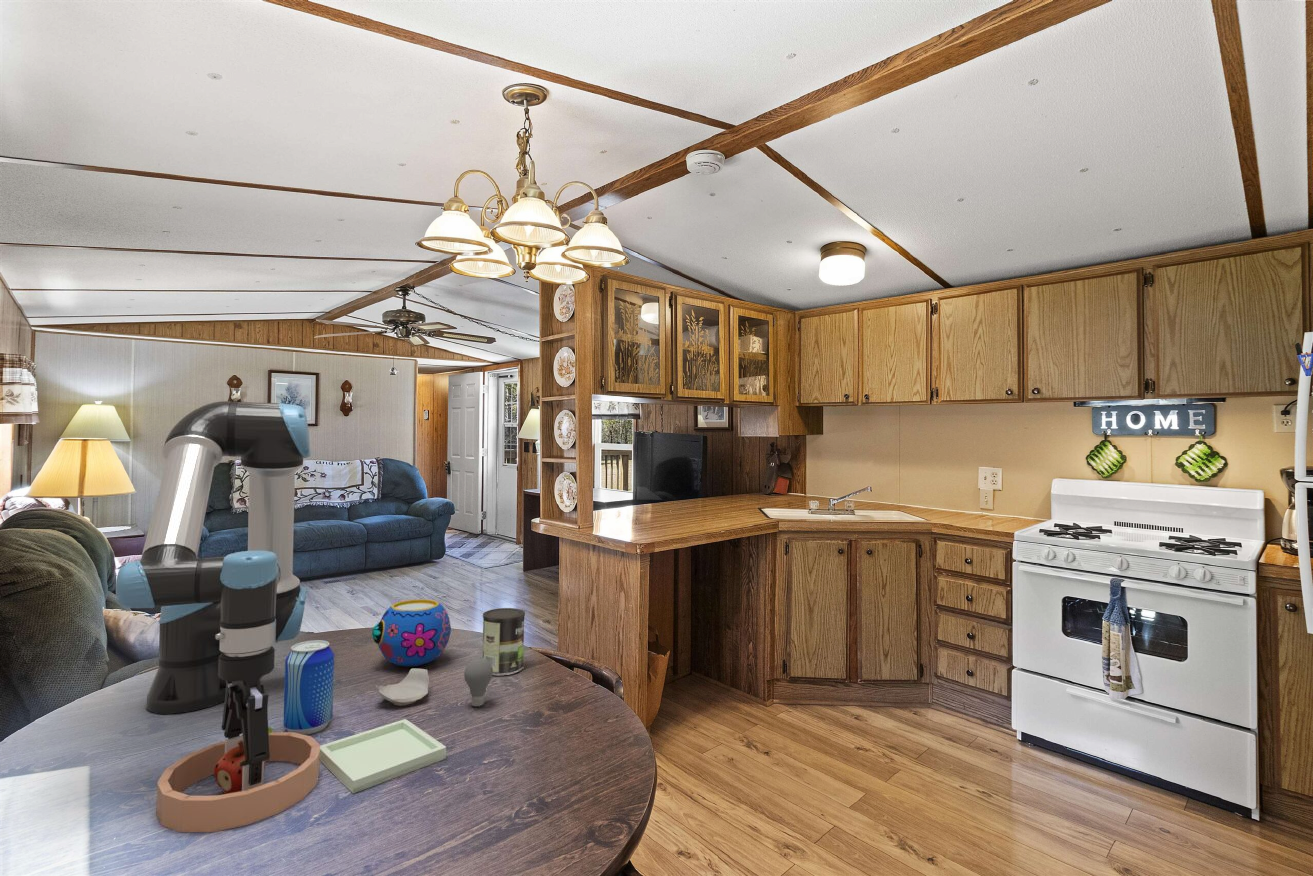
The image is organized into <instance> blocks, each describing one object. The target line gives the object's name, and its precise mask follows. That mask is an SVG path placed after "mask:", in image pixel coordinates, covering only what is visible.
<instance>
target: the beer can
mask: <svg viewBox="0 0 1313 876" xmlns="http://www.w3.org/2000/svg"><path fill="white" fill-rule="evenodd" d="M284 664H285V665H284V667H285V668H284V690H283V691H284V692H283V693H284V694H283V700H284V702H283V728H284V729H286V730H287V731H286V732H294V733H298V734H302V735H307V736H308V735H311V734H315V733H318V732H320V731H322V730H324V729H326V727H328V724H329V723H330V721H331V720H332V719H333V714H334V713H333V709H334V707H333V706H334V702H333V701H334V673H335V671H334V669H335V652H334V651H333V650H332V648H331V646H330V642H329V641H328V640H318V639H316V640H315V639H314V640H305V641H302V642H298V643H295V644H294V645H292V646H291V647H290V652H289V653H288V655H287V656H286V658H285V662H284Z"/></svg>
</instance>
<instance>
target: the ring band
mask: <svg viewBox="0 0 1313 876" xmlns="http://www.w3.org/2000/svg"><path fill="white" fill-rule="evenodd" d="M320 746H321V744H320V743H319V742H317V741H316V740H315V739H314V738H313V737H312V735H311V736H310V735H308V734H307V735H302V734H298V733H294V732H288V731H281V732H279V731H277V732H276V731H275V732H274V731H272V732H271V733H270V734H269V753H270V758H269V759H268V760H265V762H289V763H292V764H297V765H300V766H298V768H296V769H295V770H292V771H290V772H289V773H287V774H284V775H283V776H281V777H280V778H278V779H276V780H273V781H270V782H267V783H264V785H261V786H258V787H255V788H252V789H249V790H246V791H240V792H235V793H229V794H226V793H224V794H219V795H188V794H186V793H183V792H184V791H185V790H186V789H187V788H188V787H190V786H191V785H193V784H195V783H197V782H199V781H201V780H204V779H205V778H207V777H209V776H211V775H214V768H215V765H216V763H217V762H218V761H219V759H220V758H221V757H222V756H223V755H224V754H225V740H223V741H219V742H216V743H212V744H210V745H207V746H205V747H202V748H200V749H198V750H196V751H193V752H192V753H188V754H187V755H185V756H183V757H182V758H180V759H178V760H177V761H176V762H175V763H172V765H170V766H168V767H167V768H165V770H164V772H163V773H162V775H161V776H160V778H159V779H158V781H157V782H156V804H155V805H156V806H155V807H156V808H155V810H156V812H155V813H156V815H157V818H158V820H159V823H160V825H161V826H162V827H165V828H168V829H170V830H173V831H175V832H176V831H177V832H179V833H214V832H220V831H223V830H224V831H225V830H229V829H234V828H239V827H244V826H248V825H251V824H254V823H257V822H259V821H262V820H264V819H267V818H270V817H272V816H275V815H278V814H280V813H282V812H283V811H285V810H287V809H288V808H290V807H292V806H293V805H296V804H297V803H298V802H300V801H302V800H303V799H305V798H306V796H307V795H309V793H310V792H311V791H312V790H313V789H314V788H315V787H316V786H317V785H318V780H319V775H320V762H321V761H320Z"/></svg>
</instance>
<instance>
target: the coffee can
mask: <svg viewBox="0 0 1313 876" xmlns="http://www.w3.org/2000/svg"><path fill="white" fill-rule="evenodd" d="M525 615H526V612H525V610H523V609H519V608H515V607H513V608H512V607H502V608H492V609H489V610H486V611H484V612H483V613H482V622H483V623H482V655H481V656H482V657H481V658H483V659H486V660H487V661H488V662H490V664H491V665H492V668H493V674H505V673H511V672H514V671H517V670H519V669H521V668H522V667H523V668H524V648H525V647H524V643H525V640H524V639H525Z"/></svg>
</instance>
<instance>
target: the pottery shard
mask: <svg viewBox="0 0 1313 876" xmlns="http://www.w3.org/2000/svg"><path fill="white" fill-rule="evenodd" d="M408 671H409V672H408V673H407V674H406V676H405V677H404V678H403V679H402V680H401V681H400V682H399V683H398V682H397V683H395V684H386V686H385V685H379V686H378V685H377V684H376V685H375V688H376V690H377V692H378V694H379V695H380V696H381V697H382V698H383V699H385V700H387V701H388V702H391V703H392V705H395V706H407V705H411V704H414V703H416V702H417V701H418V700H419V701H421V700H422V699H423V698H424V697H425V696H426V695H427V694H429V685H430V677H429V674H428V669H424V668H415V667H414V668H411V669H410V670H408Z"/></svg>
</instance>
